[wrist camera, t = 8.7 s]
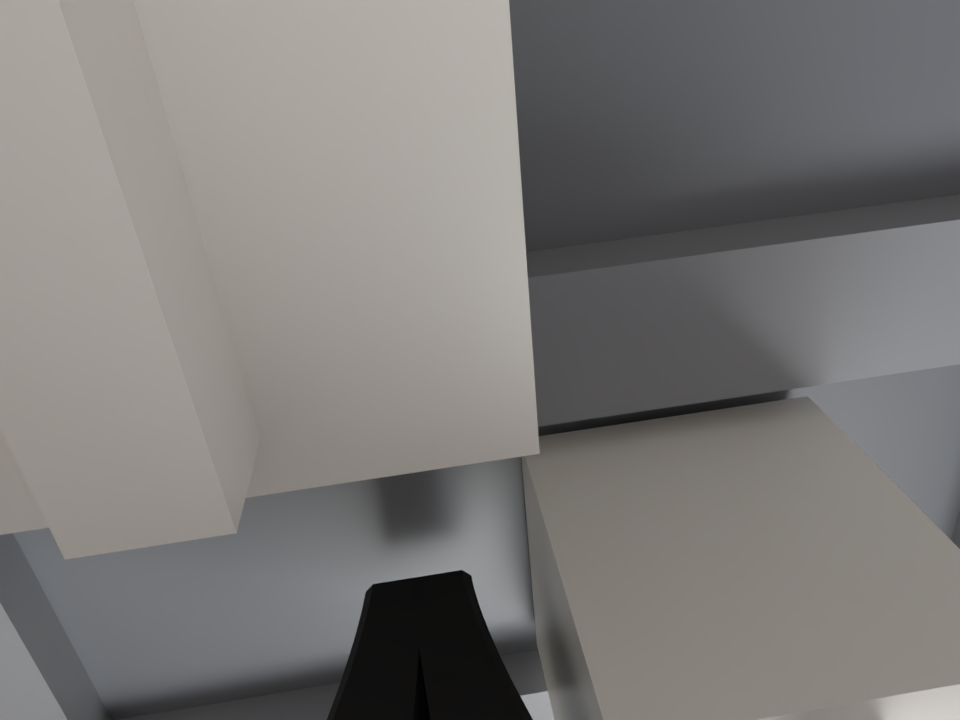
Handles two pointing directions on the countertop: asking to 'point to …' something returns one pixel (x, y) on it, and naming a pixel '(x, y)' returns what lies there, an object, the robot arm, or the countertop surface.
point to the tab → (736, 574)
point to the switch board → (588, 343)
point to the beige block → (252, 256)
